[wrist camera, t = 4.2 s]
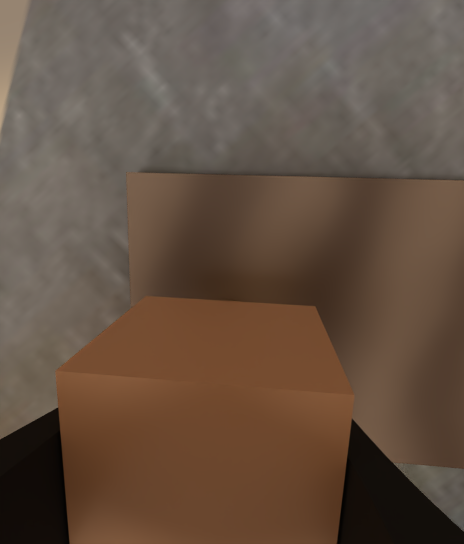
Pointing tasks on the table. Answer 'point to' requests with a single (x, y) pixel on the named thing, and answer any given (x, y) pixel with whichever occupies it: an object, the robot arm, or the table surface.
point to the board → (329, 281)
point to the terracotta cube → (205, 426)
